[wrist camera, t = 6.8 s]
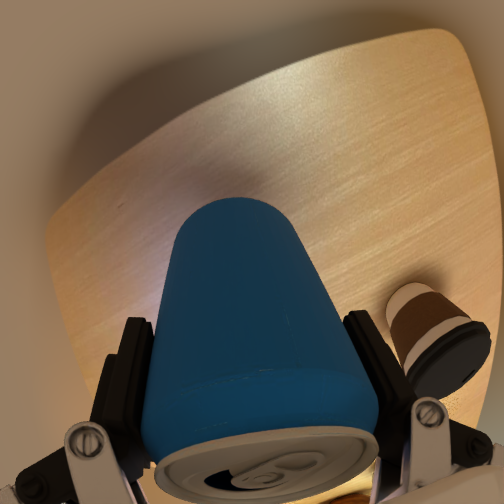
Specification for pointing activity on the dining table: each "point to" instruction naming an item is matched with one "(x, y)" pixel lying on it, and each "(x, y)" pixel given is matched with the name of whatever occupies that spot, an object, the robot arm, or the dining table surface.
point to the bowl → (353, 499)
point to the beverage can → (252, 368)
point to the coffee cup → (435, 340)
